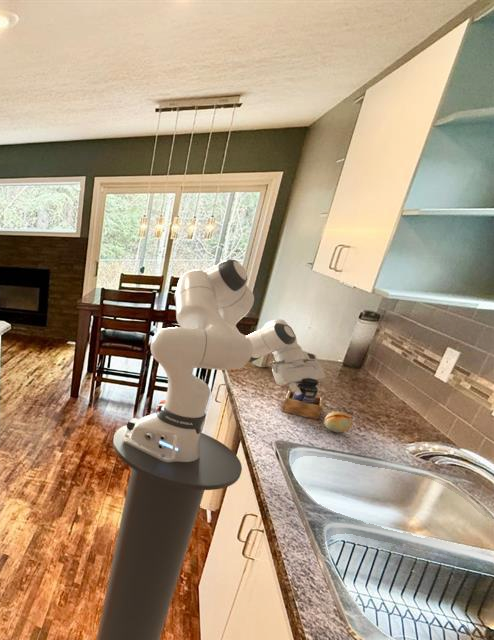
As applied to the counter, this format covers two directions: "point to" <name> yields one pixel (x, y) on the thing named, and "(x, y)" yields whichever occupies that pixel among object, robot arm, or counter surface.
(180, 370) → the robot arm
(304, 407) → the holder
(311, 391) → the pill bottle
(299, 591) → the counter surface
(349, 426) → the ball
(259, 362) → the beige rectangular block
